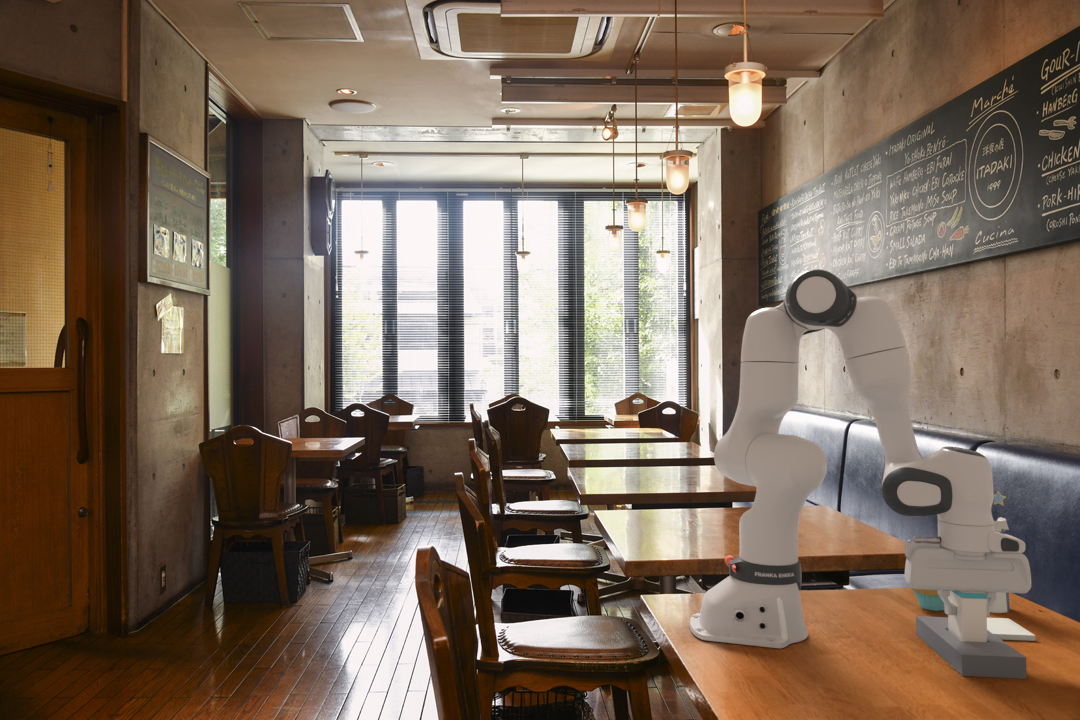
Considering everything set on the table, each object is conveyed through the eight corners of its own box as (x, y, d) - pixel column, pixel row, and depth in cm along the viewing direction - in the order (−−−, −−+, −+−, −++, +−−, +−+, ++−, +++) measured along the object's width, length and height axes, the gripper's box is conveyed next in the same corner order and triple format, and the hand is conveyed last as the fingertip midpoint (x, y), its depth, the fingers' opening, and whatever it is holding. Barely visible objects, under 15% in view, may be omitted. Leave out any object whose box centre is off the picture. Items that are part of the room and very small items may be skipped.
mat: (979, 638, 138) (979, 633, 138) (956, 621, 148) (956, 616, 148) (1035, 640, 137) (1035, 635, 137) (1008, 623, 147) (1008, 618, 147)
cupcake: (902, 602, 161) (901, 548, 162) (938, 601, 162) (937, 547, 162) (927, 614, 153) (926, 557, 153) (964, 613, 154) (963, 556, 154)
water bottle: (968, 598, 164) (966, 487, 164) (1013, 606, 158) (1011, 491, 159) (961, 607, 157) (959, 491, 158) (1008, 615, 152) (1006, 495, 153)
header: (962, 675, 121) (961, 654, 121) (916, 634, 141) (915, 616, 141) (1026, 678, 120) (1026, 657, 120) (971, 636, 140) (970, 618, 140)
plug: (962, 655, 127) (961, 592, 128) (948, 643, 133) (947, 582, 134) (987, 656, 127) (986, 593, 127) (972, 644, 133) (971, 583, 133)
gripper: (911, 539, 129) (912, 618, 129) (1035, 543, 126) (1037, 623, 126) (898, 532, 135) (899, 607, 135) (1016, 535, 133) (1018, 612, 132)
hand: (966, 615), depth 130 cm, fingers closed on plug, 4 cm apart
